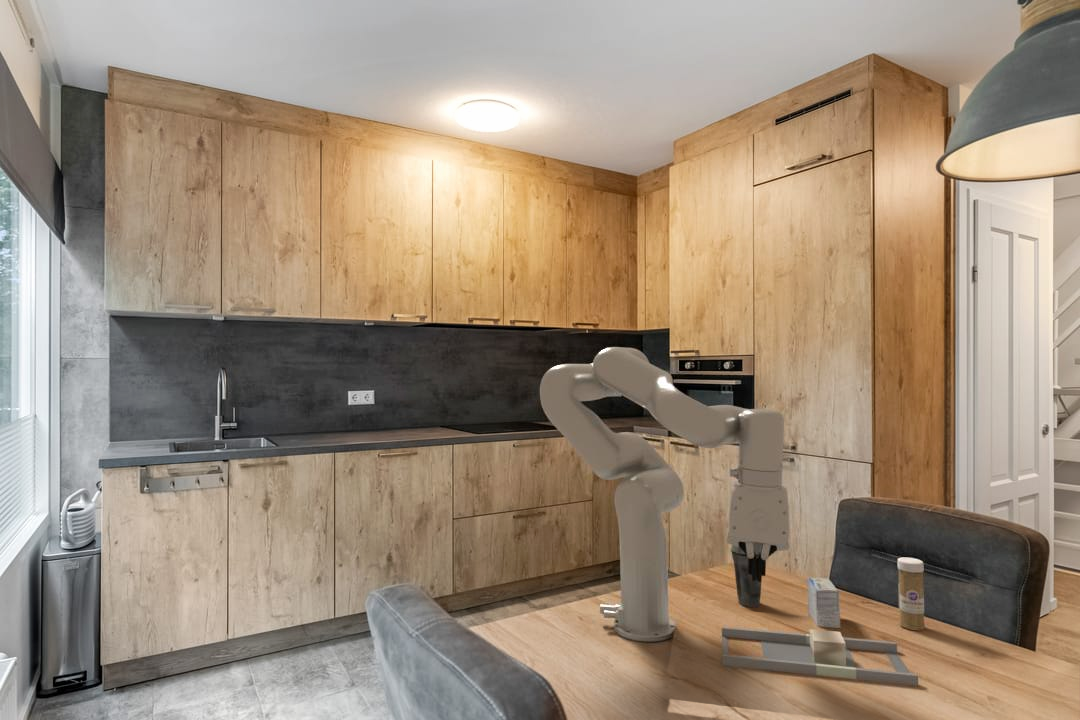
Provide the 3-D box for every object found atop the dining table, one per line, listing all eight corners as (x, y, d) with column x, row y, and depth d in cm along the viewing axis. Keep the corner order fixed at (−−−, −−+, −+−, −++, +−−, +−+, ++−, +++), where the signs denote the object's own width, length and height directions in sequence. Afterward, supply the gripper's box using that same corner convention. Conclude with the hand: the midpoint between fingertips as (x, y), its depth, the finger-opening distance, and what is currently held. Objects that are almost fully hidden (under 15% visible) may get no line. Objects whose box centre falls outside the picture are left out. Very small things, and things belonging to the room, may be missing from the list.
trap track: (722, 673, 108) (722, 655, 108) (722, 642, 120) (721, 626, 120) (918, 695, 100) (918, 676, 100) (896, 659, 112) (895, 642, 112)
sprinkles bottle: (905, 631, 124) (903, 562, 124) (895, 622, 129) (893, 556, 129) (929, 631, 124) (927, 563, 124) (918, 622, 128) (916, 556, 128)
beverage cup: (771, 609, 137) (768, 517, 137) (737, 609, 137) (735, 517, 137) (759, 597, 144) (757, 510, 144) (728, 597, 144) (726, 510, 144)
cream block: (814, 664, 108) (813, 640, 108) (810, 651, 112) (809, 629, 112) (846, 667, 106) (845, 643, 106) (840, 654, 111) (840, 631, 111)
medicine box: (841, 635, 123) (840, 591, 123) (816, 634, 123) (815, 589, 124) (830, 620, 130) (829, 578, 131) (808, 618, 131) (807, 577, 131)
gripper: (716, 478, 111) (713, 580, 112) (807, 485, 107) (803, 591, 108) (716, 470, 119) (713, 567, 119) (801, 477, 115) (797, 577, 115)
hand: (756, 578), depth 113 cm, fingers closed
